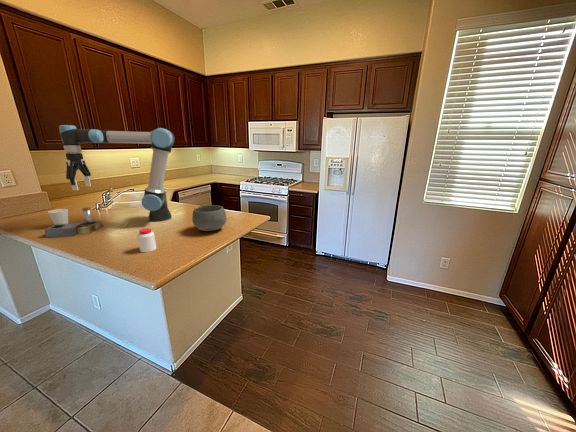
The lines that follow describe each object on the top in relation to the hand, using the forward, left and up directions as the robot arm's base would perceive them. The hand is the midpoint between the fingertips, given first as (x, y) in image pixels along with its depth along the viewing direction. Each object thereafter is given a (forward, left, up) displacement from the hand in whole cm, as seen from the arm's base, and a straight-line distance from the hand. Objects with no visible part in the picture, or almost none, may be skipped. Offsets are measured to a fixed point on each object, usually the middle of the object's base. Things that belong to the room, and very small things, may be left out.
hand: (82, 188), depth 147 cm
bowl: (-75, +16, -27) cm, 82 cm away
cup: (+21, -9, -27) cm, 35 cm away
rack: (0, 0, -27) cm, 27 cm away
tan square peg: (+3, +7, -27) cm, 28 cm away
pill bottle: (-46, +40, -27) cm, 67 cm away
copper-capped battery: (0, 0, -27) cm, 27 cm away
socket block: (+10, +7, -27) cm, 30 cm away
